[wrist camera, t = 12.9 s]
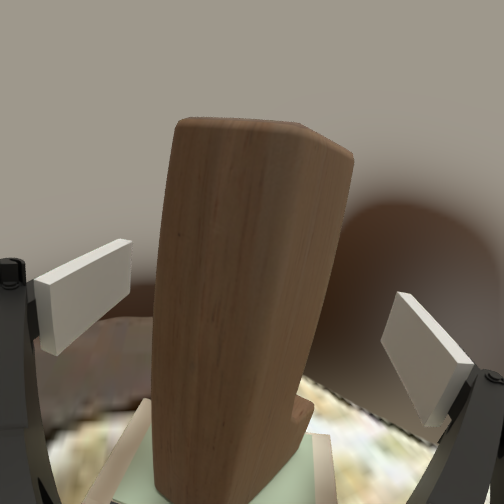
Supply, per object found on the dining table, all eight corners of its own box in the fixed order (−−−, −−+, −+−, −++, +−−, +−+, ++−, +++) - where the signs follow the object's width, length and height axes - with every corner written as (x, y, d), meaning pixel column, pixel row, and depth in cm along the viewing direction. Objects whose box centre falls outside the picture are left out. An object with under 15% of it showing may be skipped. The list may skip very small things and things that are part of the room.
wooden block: (245, 420, 21) (300, 152, 17) (299, 449, 19) (383, 168, 14) (151, 488, 14) (172, 114, 9) (215, 536, 11) (306, 120, 7)
